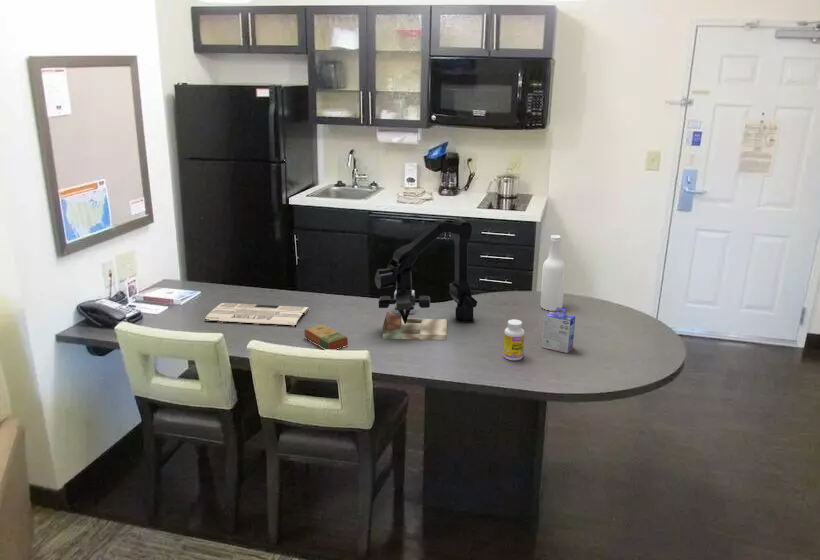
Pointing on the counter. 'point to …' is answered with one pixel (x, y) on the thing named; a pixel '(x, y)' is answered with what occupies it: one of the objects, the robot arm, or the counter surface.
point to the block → (393, 321)
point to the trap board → (417, 329)
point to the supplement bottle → (513, 340)
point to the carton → (326, 337)
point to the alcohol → (553, 277)
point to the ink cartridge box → (558, 331)
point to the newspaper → (257, 313)
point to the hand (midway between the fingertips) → (405, 323)
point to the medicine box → (404, 309)
